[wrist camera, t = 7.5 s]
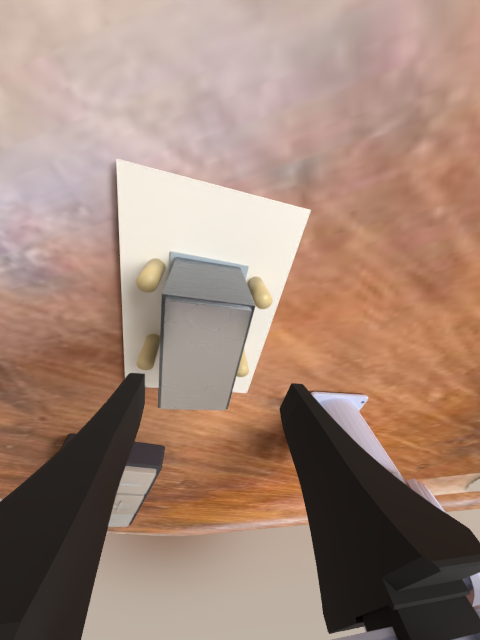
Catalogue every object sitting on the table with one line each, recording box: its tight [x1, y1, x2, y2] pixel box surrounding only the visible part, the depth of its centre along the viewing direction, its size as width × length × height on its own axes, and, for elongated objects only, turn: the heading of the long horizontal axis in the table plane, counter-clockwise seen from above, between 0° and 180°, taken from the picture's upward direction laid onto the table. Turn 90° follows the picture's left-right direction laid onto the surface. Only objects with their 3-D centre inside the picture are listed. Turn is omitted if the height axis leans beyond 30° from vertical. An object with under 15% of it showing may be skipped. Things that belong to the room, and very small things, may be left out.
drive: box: [158, 257, 255, 410], centre depth 15 cm, size 8×4×6 cm, turn 168°
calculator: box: [60, 434, 165, 527], centre depth 29 cm, size 11×4×15 cm
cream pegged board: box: [116, 159, 311, 393], centre depth 17 cm, size 18×12×4 cm, turn 167°
